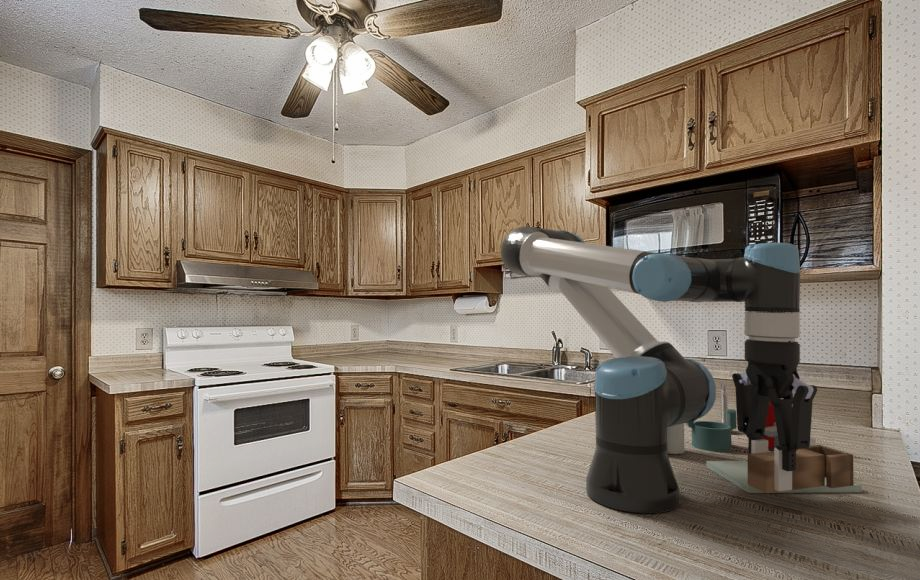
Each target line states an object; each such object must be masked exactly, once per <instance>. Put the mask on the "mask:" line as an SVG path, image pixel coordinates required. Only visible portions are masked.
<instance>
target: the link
mask: <svg viewBox="0 0 920 580" xmlns="http://www.w3.org/2000/svg"><path fill="white" fill-rule="evenodd" d="M747 461H748V485H749V486H751V487H754V488H756V489H758V490H760V491H763V492H765V493H766V494H772V493H773V492H781V491H776V490H774V450H772V451H768V452H764V453H753V454H748V453H747ZM825 477H826V487H829V488H838V487H846V486H854V485H853V482H854V454H852V453H849V452H846V451H842V450H838V449H835V448H831V447H828V446H824V445H821V444H815V445H811V446H810V447H809V448H805V449H798V450H797V451H796V469H795V471H792V490H797V489H804V488H812V487H820V486H825ZM787 491H789V490H787ZM765 493H764V494H765ZM773 494H774V493H773Z"/></svg>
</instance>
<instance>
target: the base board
mask: <svg viewBox="0 0 920 580" xmlns="http://www.w3.org/2000/svg"><path fill="white" fill-rule="evenodd" d="M705 464H706V468H708V469H709V470H711V471H712V472H714V473H716V474H717V475H719V476H720V477H722V478H723V479H725V480H727V481H729V482H730V483H732V484H733V485H735V486H736V487H739V488H740V489H742V490H743V491H745V492H746V493H748V494H765V492H763V491H760V490H758V489H756V488H754V487H751V486H749V485H748V460H706V463H705ZM853 485H854V486H846V487H838V488H829V487H826V477H825V486H820V487H812V488H804V489H797V490H789V491H781V492H773V494H778V493H779V494H780V493H781V494H787V493H788V494H790V493H791V494H795V493H797V494H798V493H799V494H801V493H802V494H803V493H810V494H811V493H862V484H859V483H857V482H854V481H853Z"/></svg>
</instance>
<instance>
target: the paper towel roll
mask: <svg viewBox="0 0 920 580" xmlns="http://www.w3.org/2000/svg"><path fill="white" fill-rule="evenodd" d="M685 446H686V445H685V423H683V424H679V425H674V426H670V427H667V454H669V455H681V454H683V453H685Z"/></svg>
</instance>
